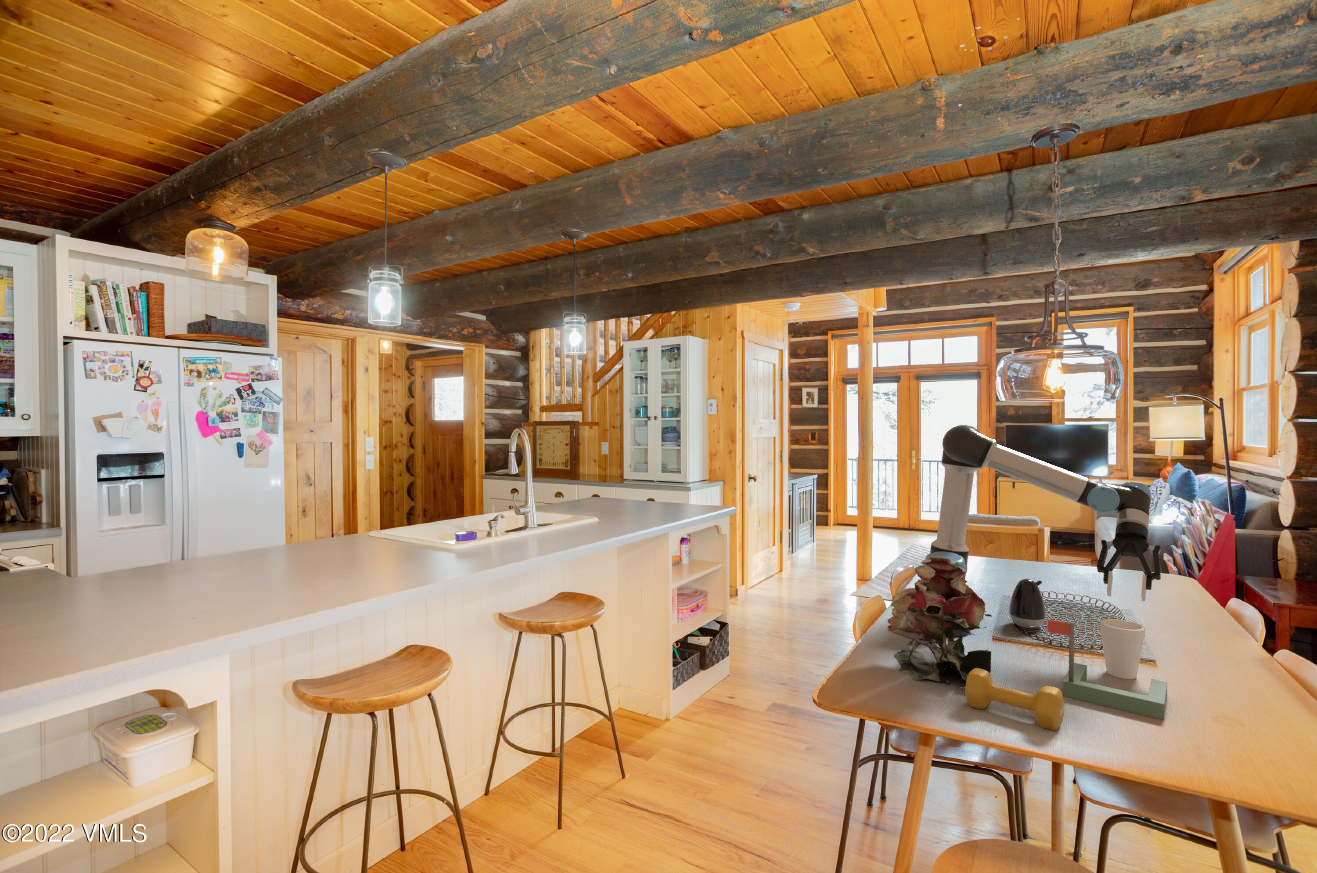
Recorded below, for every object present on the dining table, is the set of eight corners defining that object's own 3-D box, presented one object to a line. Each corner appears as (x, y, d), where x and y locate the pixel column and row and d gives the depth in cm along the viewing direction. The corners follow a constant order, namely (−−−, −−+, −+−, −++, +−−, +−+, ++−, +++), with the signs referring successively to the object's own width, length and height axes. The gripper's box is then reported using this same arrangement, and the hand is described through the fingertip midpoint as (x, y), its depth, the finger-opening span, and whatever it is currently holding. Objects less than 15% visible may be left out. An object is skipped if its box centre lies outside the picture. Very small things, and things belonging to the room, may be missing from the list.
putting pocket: (1056, 672, 166) (1057, 606, 165) (1167, 696, 151) (1168, 623, 150) (1045, 691, 154) (1046, 620, 153) (1164, 719, 139) (1165, 641, 139)
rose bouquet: (988, 657, 177) (989, 550, 176) (995, 698, 150) (996, 573, 149) (891, 643, 187) (891, 543, 187) (881, 680, 161) (882, 563, 160)
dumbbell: (961, 708, 145) (961, 673, 145) (974, 696, 151) (975, 662, 151) (1056, 737, 132) (1057, 698, 132) (1067, 722, 138) (1067, 685, 138)
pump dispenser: (1054, 629, 200) (1054, 581, 199) (1026, 632, 197) (1026, 583, 197) (1028, 619, 209) (1028, 574, 209) (1001, 622, 207) (1002, 576, 207)
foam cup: (1129, 668, 168) (1130, 619, 168) (1153, 682, 159) (1153, 631, 159) (1091, 666, 169) (1092, 618, 169) (1113, 680, 160) (1113, 629, 160)
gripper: (1176, 540, 179) (1173, 610, 167) (1091, 532, 192) (1083, 597, 180) (1175, 523, 174) (1172, 594, 163) (1089, 517, 187) (1080, 582, 175)
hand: (1125, 595), depth 171 cm, fingers open, 7 cm apart
